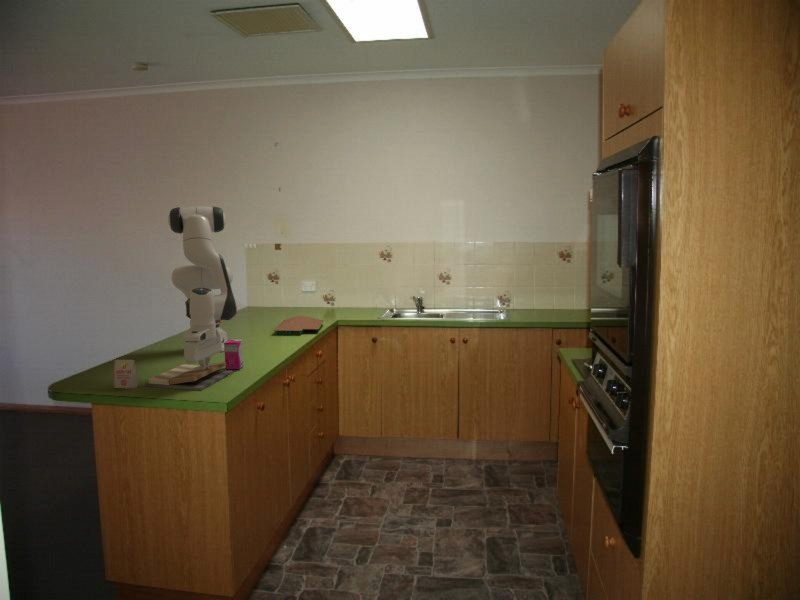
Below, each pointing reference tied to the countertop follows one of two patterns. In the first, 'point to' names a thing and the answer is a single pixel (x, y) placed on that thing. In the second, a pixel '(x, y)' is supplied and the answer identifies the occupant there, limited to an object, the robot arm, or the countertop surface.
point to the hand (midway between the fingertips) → (204, 369)
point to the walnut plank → (197, 373)
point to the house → (299, 324)
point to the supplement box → (233, 354)
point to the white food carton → (125, 374)
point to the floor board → (199, 384)
